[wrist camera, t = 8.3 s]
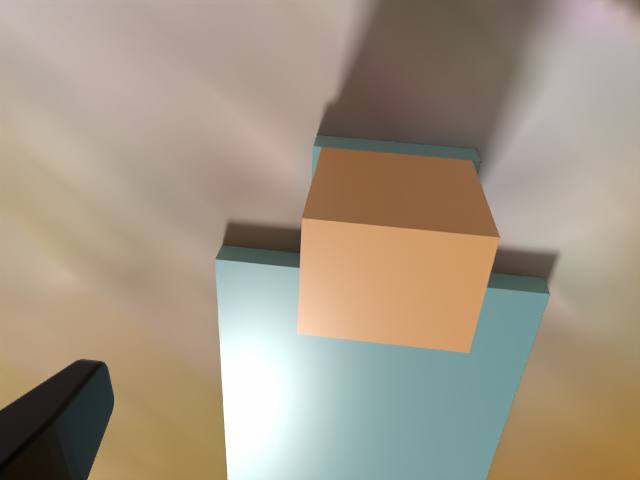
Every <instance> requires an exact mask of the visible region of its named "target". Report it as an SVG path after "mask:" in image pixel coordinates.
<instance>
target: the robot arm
mask: <svg viewBox="0 0 640 480" xmlns="http://www.w3.org/2000/svg"><path fill="white" fill-rule="evenodd" d="M113 406H114V394H113V389H112V385H111V380H110V375H109V371H108V367H107V365H106V364H105V363H104V362H102V361H96V360H87V359H80V360H77V361H75V362H74V363H72V364H71V365H69V366H67V367H66V368H64V369H63V370H61V371H60V372H58V373H57V374H55V375H54V376H52V377H51V378H49V379H48V380H46V381H44V382H43V383H41V384H40V385H38V386H37V387H35V388H34V389H32V390H31V391H29V392H28V393H26V394H25V395H23V396H21V397H20V398H18V399H17V400H15V401H14V402H12V403H11V404H9V405H8V406H6V407H5V408H3V409H2V410H0V480H87V479H88V476H89V473H90V471H91V468H92V465H93V463H94V460H95V457H96V454H97V452H98V449H99V446H100V444H101V441H102V438H103V435H104V433H105V430H106V427H107V425H108V422H109V419H110V416H111V414H112V411H113Z"/></svg>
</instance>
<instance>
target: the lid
mask: <svg viewBox="0 0 640 480" xmlns="http://www.w3.org/2000/svg"><path fill="white" fill-rule="evenodd" d="M480 162H481V161H480V158H479V156H478V153H477V151H476V149H471V148H460V147H448V146H437V145H426V144H414V143H403V142H392V141H380V140H369V139H357V138H346V137H335V136H323V135H317V136H316V140H315V143H314V146H313V165H312V184H311V187H310V191H309V194H308V198H307V202H306V205H305V209H304V212H303V216H302V228H301V252H300V253H294V252H284V251H274V250H264V249H254V248H245V247H235V246H225V245H222V247H221V249H220V251H219V253H218V255H217V257H216V259H215V266H216V283H217V301H218V318H219V335H220V353H221V370H222V387H223V405H224V422H225V439H226V456H227V474H228V480H486V477H487V475H488V472H489V469H490V466H491V463H492V460H493V457H494V454H495V452H496V449H497V446H498V443H499V440H500V437H501V434H502V431H503V429H504V426H505V423H506V420H507V417H508V414H509V411H510V408H511V406H512V403H513V400H514V397H515V394H516V391H517V388H518V385H519V383H520V380H521V377H522V374H523V371H524V368H525V365H526V362H527V360H528V357H529V354H530V351H531V348H532V345H533V342H534V339H535V336H536V334H537V331H538V328H539V325H540V322H541V319H542V316H543V313H544V311H545V308H546V305H547V302H548V299H549V296H550V293H549V290H548V288H547V286H546V283H545V281H544V279H543V278H540V277H531V276H521V275H511V274H501V273H491V269H492V266H493V262H494V258H495V254H496V251H497V247H498V243H499V240H500V236H499V233H498V231H497V228H496V225H495V222H494V220H493V217H492V214H491V211H490V208H489V206H488V203H487V200H486V197H485V195H484V192H483V189H482V186H481V183H480V181H479V178H478V171H479V167H480Z"/></svg>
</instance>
